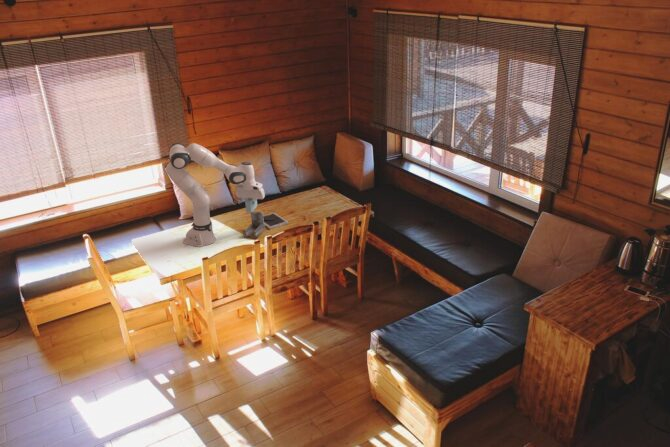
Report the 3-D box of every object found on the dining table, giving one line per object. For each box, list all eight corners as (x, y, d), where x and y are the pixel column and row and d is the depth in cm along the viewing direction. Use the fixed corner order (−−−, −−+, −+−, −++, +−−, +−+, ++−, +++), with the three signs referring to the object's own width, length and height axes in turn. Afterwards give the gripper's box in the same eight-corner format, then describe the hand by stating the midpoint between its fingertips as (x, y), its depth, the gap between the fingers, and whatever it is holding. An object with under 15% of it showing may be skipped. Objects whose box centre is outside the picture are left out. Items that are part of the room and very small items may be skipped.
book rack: (243, 237, 402) (241, 220, 396) (252, 228, 415) (250, 211, 409) (257, 239, 400) (255, 221, 394) (265, 229, 413) (263, 212, 407)
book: (246, 212, 395) (245, 201, 392) (252, 205, 404) (251, 195, 401) (251, 212, 394) (249, 202, 391) (257, 206, 404) (256, 195, 400)
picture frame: (256, 220, 428) (269, 230, 413) (255, 217, 427) (269, 226, 411) (274, 214, 436) (288, 224, 420) (274, 211, 435) (288, 220, 419)
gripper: (233, 185, 391) (235, 204, 398) (261, 188, 386) (263, 206, 392) (237, 182, 397) (239, 200, 403) (264, 184, 391) (266, 203, 397)
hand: (251, 203), depth 397 cm, fingers closed on book, 3 cm apart
